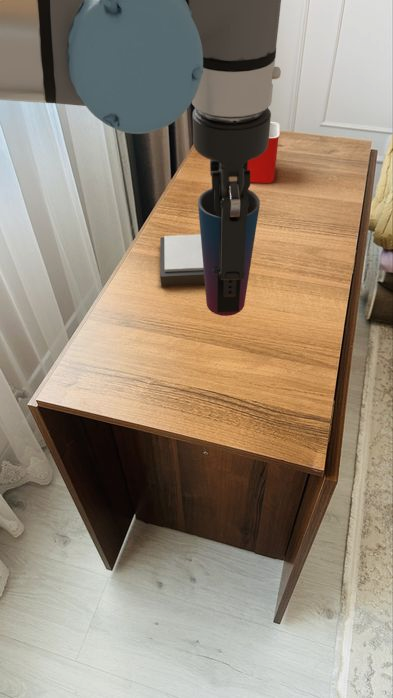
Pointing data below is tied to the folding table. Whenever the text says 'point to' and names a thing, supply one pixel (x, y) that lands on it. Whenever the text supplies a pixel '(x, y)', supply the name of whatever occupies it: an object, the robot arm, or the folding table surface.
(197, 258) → the scale
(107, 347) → the folding table surface
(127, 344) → the folding table surface
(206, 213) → the cup
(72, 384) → the folding table surface
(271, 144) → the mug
